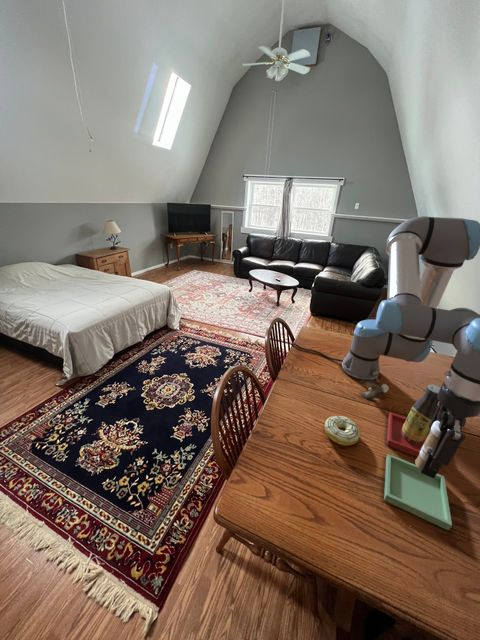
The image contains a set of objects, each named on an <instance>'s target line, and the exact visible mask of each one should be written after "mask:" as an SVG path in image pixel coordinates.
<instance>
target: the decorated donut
mask: <svg viewBox="0 0 480 640" xmlns="http://www.w3.org/2000/svg"><path fill="white" fill-rule="evenodd" d="M323 427H324V431H325V434H326V435H327V437H328V438H329V440H331V441H332V442H333V443H335V444H337V445H340V446H344V447H349V446H352V445H355V444H356V443H358V441H359V440H360V438H361V431H360V429H359V427H358V426H357V424H356V423H355V422H354V421H353V420H351V419H350V418H348V417H346V416H344V415H332V416H330V417H328V418H327V419H326V420H325V422H324V426H323Z"/></svg>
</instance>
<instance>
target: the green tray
mask: <svg viewBox="0 0 480 640" xmlns="http://www.w3.org/2000/svg"><path fill="white" fill-rule="evenodd" d="M384 472H385V475H384V491H383V492H384V494H383V501H385V502H387V503H389V504H391V505H393V506H395V507H398V508H400V509H402V510H404V511H406V512H408V513H410V514H413V515H414V516H417V517H419V518H421V519H423V520H425V521H427V522H429V523H431V524H433V525H436V526H438V527H440V528H442V529H444V530H446V531H451V528H452V527H453V521H452V515H451V510H450V504H449V503H450V502H449V497H448V492H447V485H446V479H445V476H444V475H442V474H439V473H437V474H436V476H435V478H432V477H429V476H427V475H425V474H422V473H421V471H420V470H419V469H418V468H417V466H416V463H415V464H414V463H412V462H409V461H407V460H405V459H402V458H399V457H397V456H395V455H392V454H390V453H388V454H386V458H385V471H384Z"/></svg>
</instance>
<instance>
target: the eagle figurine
mask: <svg viewBox="0 0 480 640" xmlns="http://www.w3.org/2000/svg"><path fill="white" fill-rule="evenodd" d="M359 384H360V386H364V387H367V388H368V389H367V391H365V392H362V393H361V396H362V398H363V399H367V400H374V399H377V398H378V397H380V396H381V395H382V392H383V393H387V392H388V391H389V390H390V386H388V384H386V383H383V384H382V381H381V380H379V377H378V378H377V379H376V381H375V380H371V379H364V380H360V381H359Z"/></svg>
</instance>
